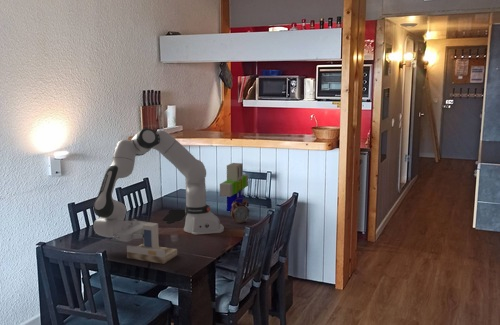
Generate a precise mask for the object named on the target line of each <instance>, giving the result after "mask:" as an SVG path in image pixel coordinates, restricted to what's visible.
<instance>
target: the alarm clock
mask: <svg viewBox="0 0 500 325" xmlns="http://www.w3.org/2000/svg"><path fill="white" fill-rule="evenodd" d="M238 199H243V202H242V204H241V203H238V202H234V201H233V203H232V209H231V212H229V214H230V217H231V220H232V219H233V223H235V225H236V224H237V223H244V222H246V223H247V221H246V220H248V219H249V216H250V210H249V208H248V207H249V204H250V203H249V202H248V200H246V199H245V198H244V197H243V198H238ZM236 200H237V199H236ZM236 200H235V201H236Z"/></svg>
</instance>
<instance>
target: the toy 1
mask: <svg viewBox="0 0 500 325" xmlns="http://www.w3.org/2000/svg"><path fill="white" fill-rule="evenodd" d="M184 217H186V214H185V209H169V211H168V213H167V214H166V216H165V217H164V218H162V219H161V221H162V222H163V221H165V222H166V224H170V225H171V224H174V223H175V222H179V221H182V219H183V218H184Z"/></svg>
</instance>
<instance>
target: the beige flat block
mask: <svg viewBox="0 0 500 325" xmlns="http://www.w3.org/2000/svg"><path fill="white" fill-rule="evenodd" d="M177 256H178V248H172V247H165V246H164V247H163V246H159V250H158V249H151V248H144V243H141V244H138V245H137V246H136V245H130V244H128V245H127V244H126V258H127V259H131V260H132V259H133V260H138V261H143V262H144V261H145V262H150V263H157V264H166V263H167V262H169V261H171V260H172V259H173V258H176V257H177Z"/></svg>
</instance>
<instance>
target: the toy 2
mask: <svg viewBox="0 0 500 325" xmlns="http://www.w3.org/2000/svg"><path fill="white" fill-rule="evenodd" d="M243 164H244V163H243V162H242V163H241V162H232V163H231V162H230V163H229V164H227V165H226V180H225V181H222V182H221V183H219V196H220V197H226V212H227V211H230V212H231V209H232V203H233V201H234V202H238V203H241V204H242V202H243V201H244V199H238V198H244V196H243V191H244V190H243V189H245V188H247V187H248V186H249V174H243V171H244V170H243ZM236 199H237V200H236ZM235 200H236V201H235ZM230 212H229V213H230Z"/></svg>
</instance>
